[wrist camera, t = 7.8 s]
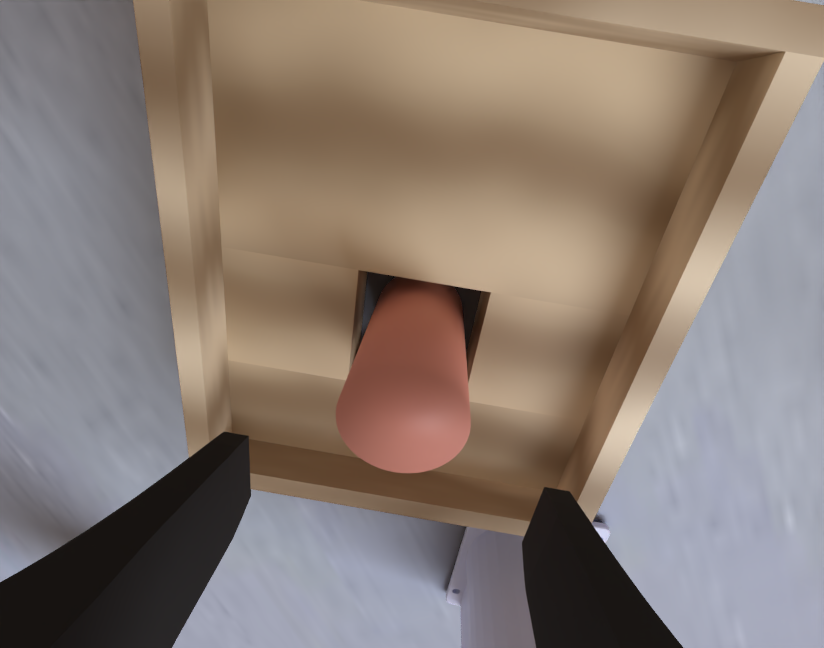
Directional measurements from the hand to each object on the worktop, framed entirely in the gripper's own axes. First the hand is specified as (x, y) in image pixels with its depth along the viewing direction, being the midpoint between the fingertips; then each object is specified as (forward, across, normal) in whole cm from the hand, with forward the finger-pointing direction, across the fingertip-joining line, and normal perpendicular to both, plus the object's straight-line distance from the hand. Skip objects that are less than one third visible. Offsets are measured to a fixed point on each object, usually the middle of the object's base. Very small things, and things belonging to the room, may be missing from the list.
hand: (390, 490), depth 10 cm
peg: (+10, 0, 0) cm, 10 cm away
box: (+10, 0, -2) cm, 11 cm away
